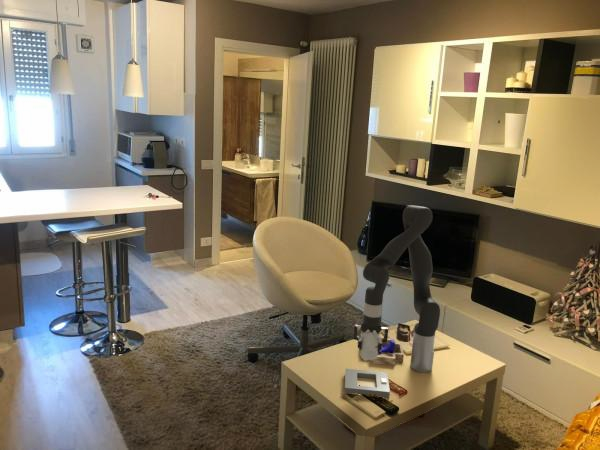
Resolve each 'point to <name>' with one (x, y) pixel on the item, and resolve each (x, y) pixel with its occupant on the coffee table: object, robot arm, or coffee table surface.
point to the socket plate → (367, 382)
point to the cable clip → (388, 348)
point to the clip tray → (394, 357)
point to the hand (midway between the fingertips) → (369, 349)
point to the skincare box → (369, 346)
